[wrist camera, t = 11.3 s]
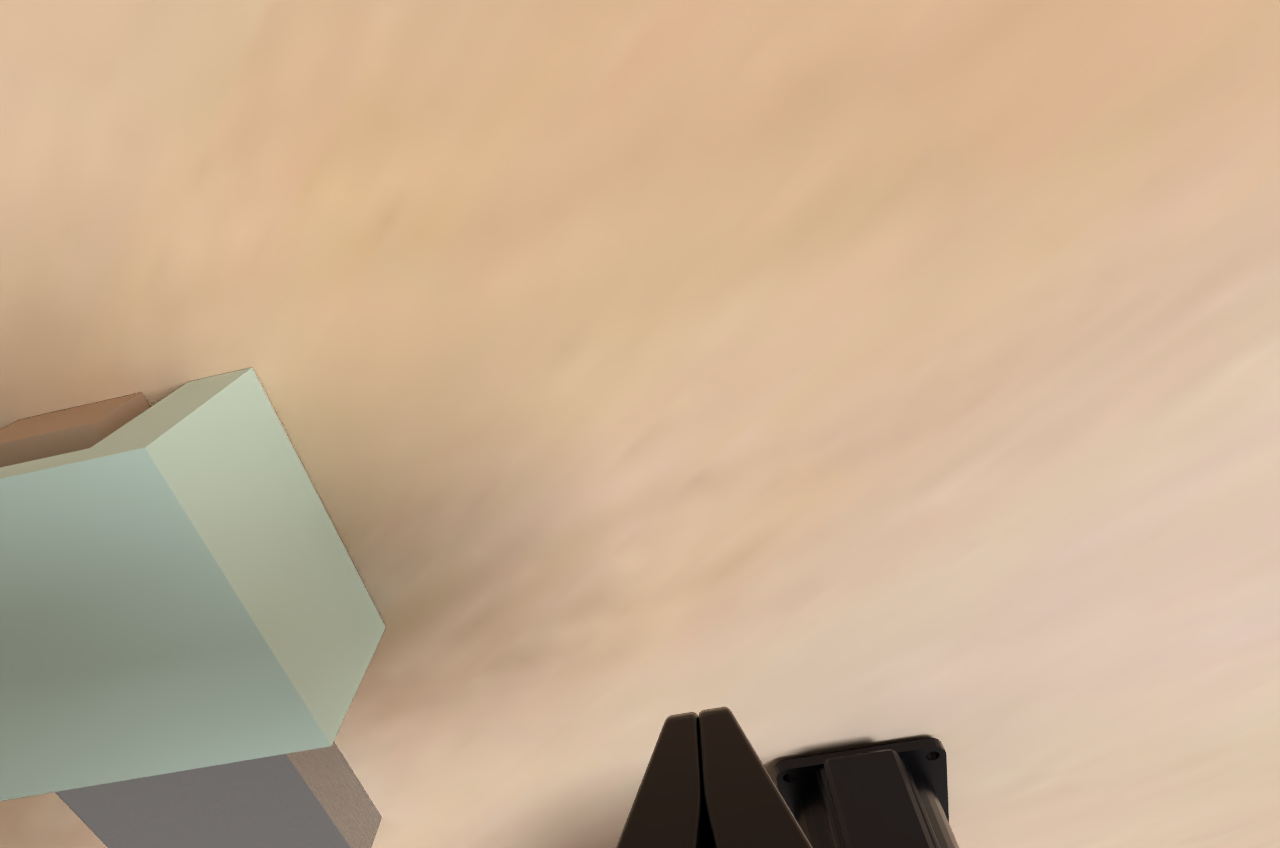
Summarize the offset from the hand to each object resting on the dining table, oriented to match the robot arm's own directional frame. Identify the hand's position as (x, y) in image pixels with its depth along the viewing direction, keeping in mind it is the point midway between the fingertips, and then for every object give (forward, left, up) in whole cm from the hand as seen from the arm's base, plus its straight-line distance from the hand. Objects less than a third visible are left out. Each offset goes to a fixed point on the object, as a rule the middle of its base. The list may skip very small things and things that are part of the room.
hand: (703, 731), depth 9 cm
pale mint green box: (-2, +20, -12) cm, 23 cm away
